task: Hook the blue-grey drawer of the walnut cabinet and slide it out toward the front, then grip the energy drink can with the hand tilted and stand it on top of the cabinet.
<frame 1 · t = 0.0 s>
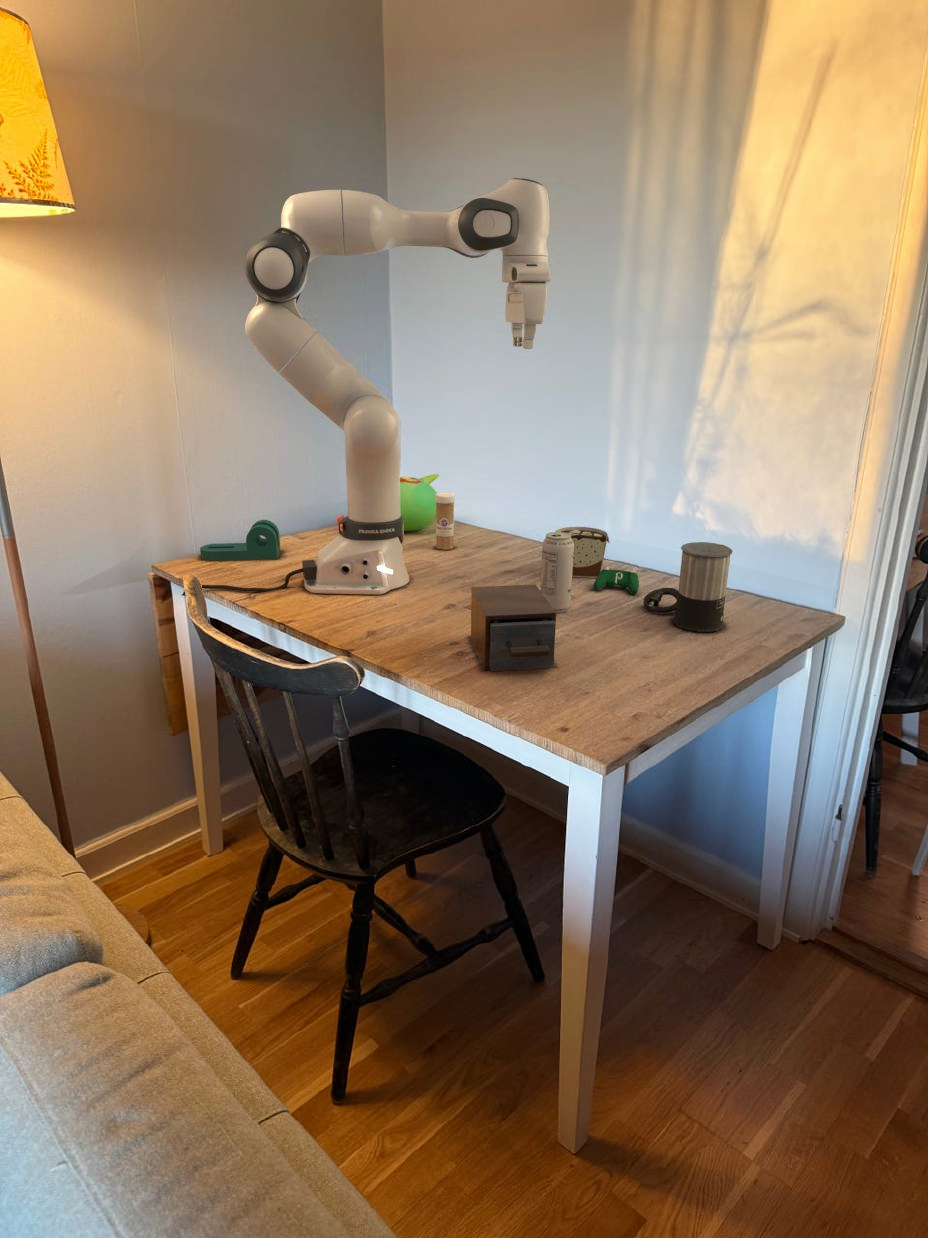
hand: (522, 347, 165), 48 cm above the table, tool pointing down, fingers open, 8 cm apart
energy drink can: (554, 609, 163), on the table
drawer: (517, 637, 136), point 5 cm above the table, slide at 1.0 cm
gaming controller: (616, 590, 174), on the table
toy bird: (406, 530, 219), on the table
milk frother: (681, 618, 159), on the table
sprinkles bottle: (445, 548, 203), on the table
bracket: (240, 556, 195), on the table
food container: (578, 573, 185), on the table
cabinet: (510, 651, 142), on the table
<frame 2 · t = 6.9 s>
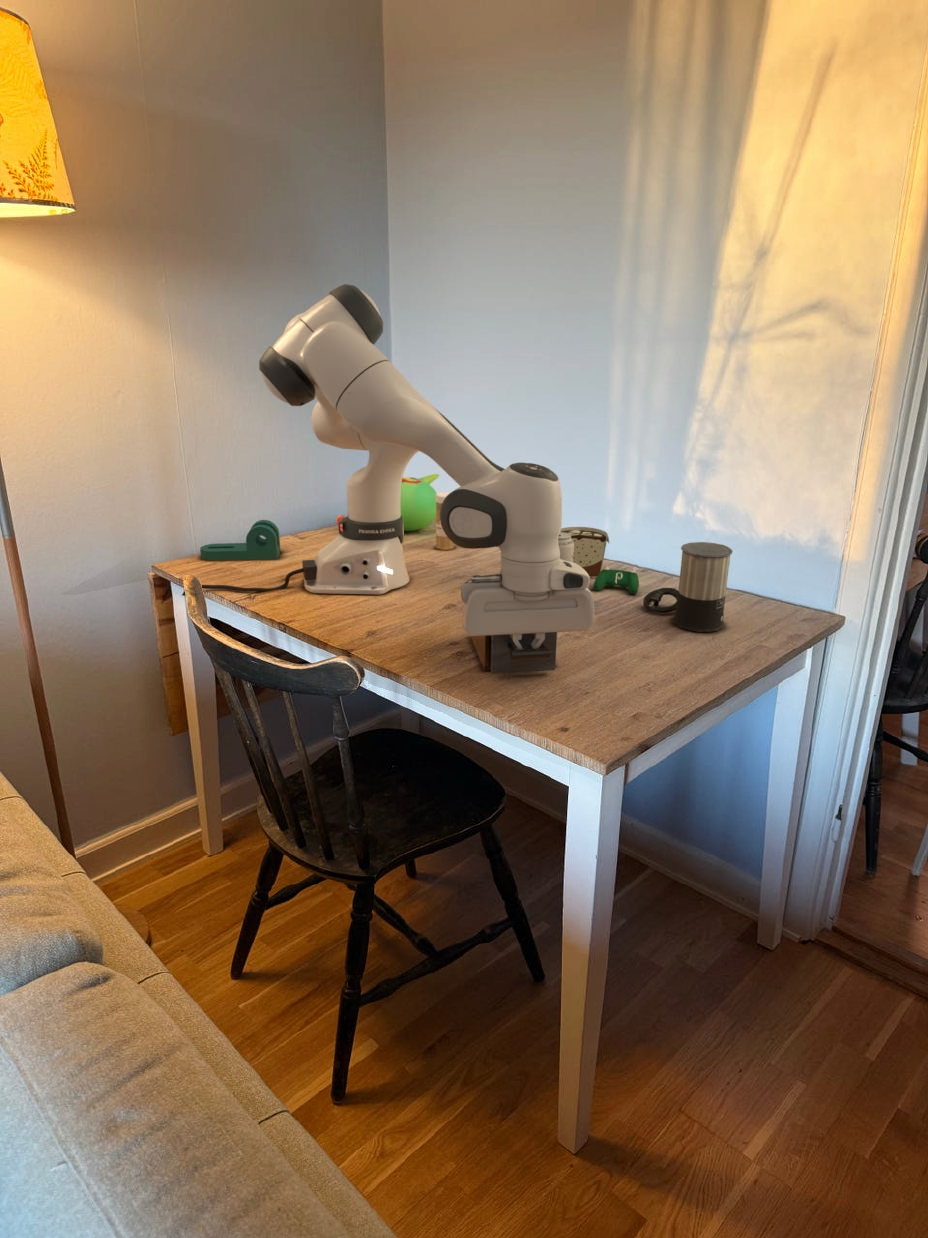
hand: (526, 657, 129), 4 cm above the table, tool pointing down, fingers closed
drawer: (518, 639, 135), point 5 cm above the table, slide at 2.0 cm, touching gripper
everything else where it was.
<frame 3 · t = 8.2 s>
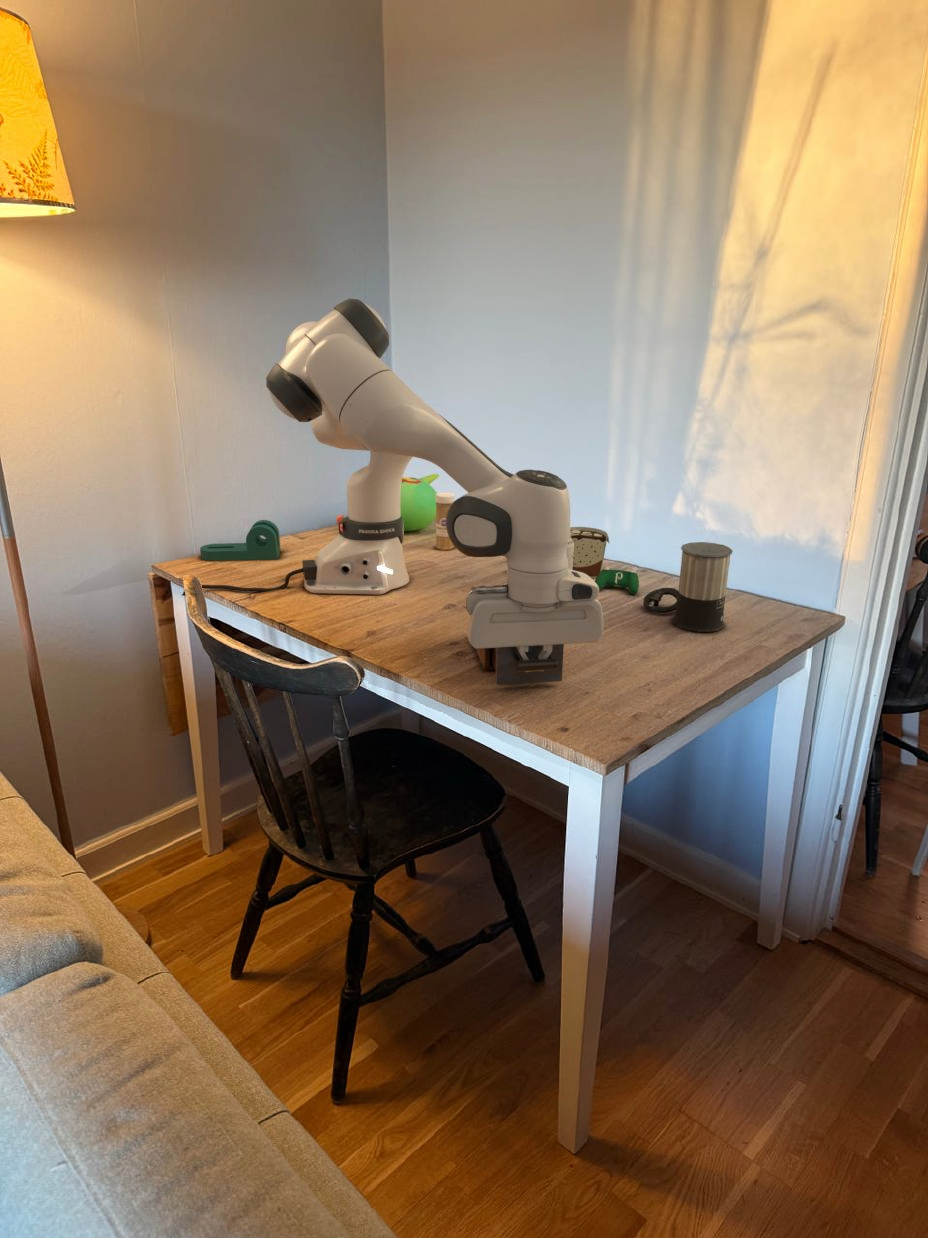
hand: (533, 670, 125), 4 cm above the table, tool pointing down, fingers closed
drawer: (524, 649, 131), point 5 cm above the table, slide at 6.2 cm
everything else where it was.
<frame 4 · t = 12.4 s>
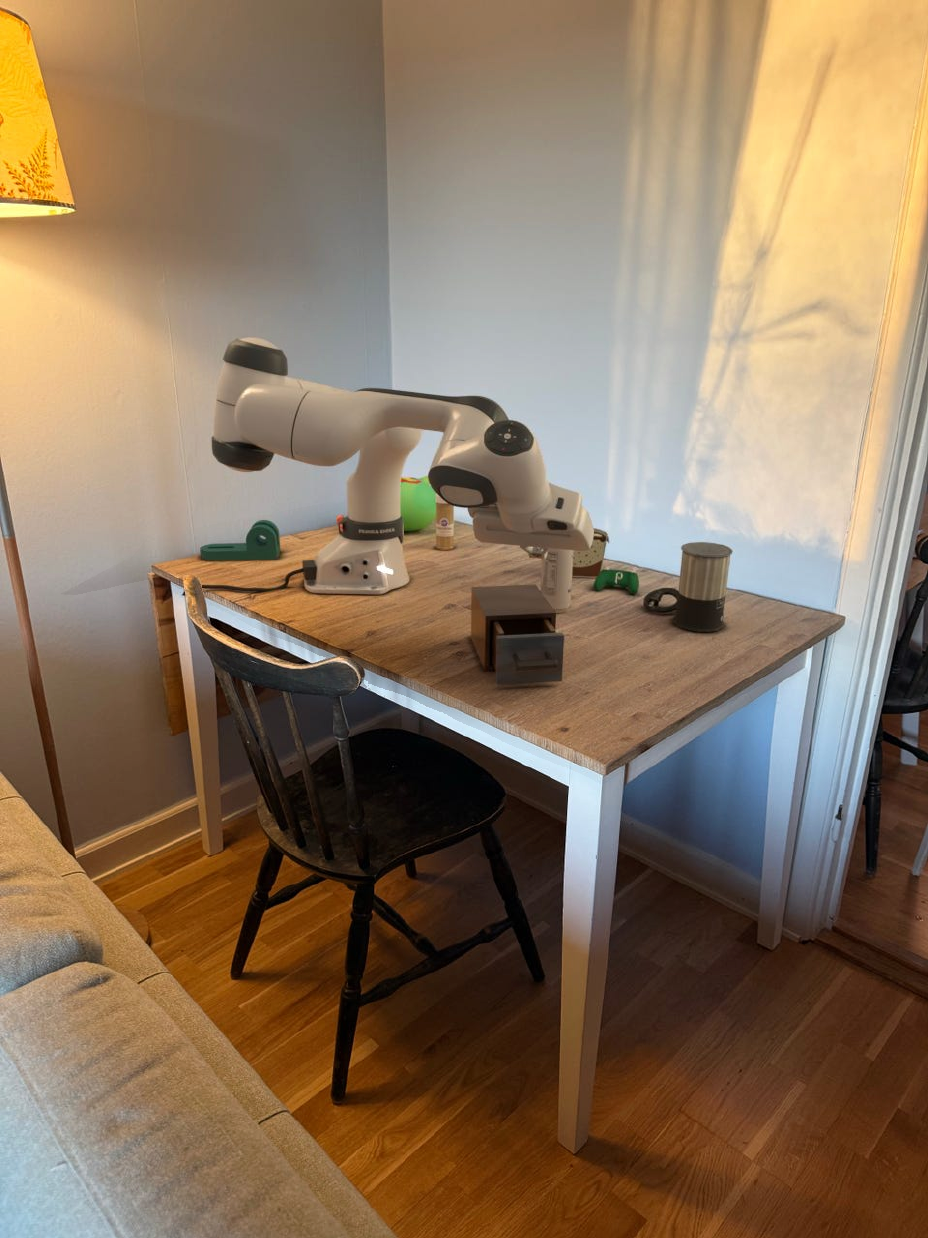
hand: (538, 555, 144), 15 cm above the table, tool tilted 40°, fingers closed
nothing on the table moved.
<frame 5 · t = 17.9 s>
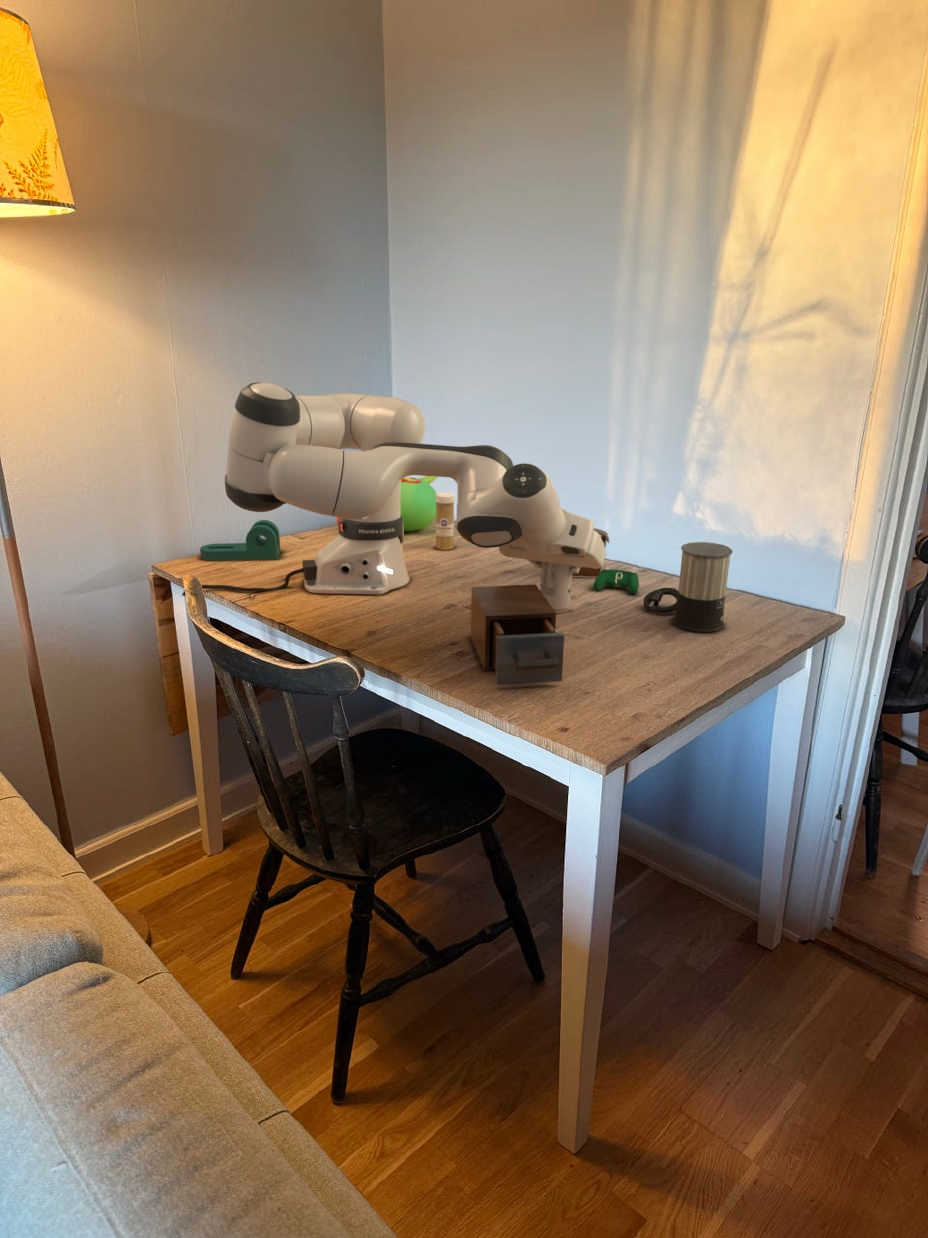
hand: (558, 567, 160), 8 cm above the table, tool tilted 45°, fingers closed on energy drink can, 6 cm apart
energy drink can: (554, 609, 163), on the table, touching gripper
everything else where it was.
when the fingers open (18 cm above the table, at t = 26.9 s): energy drink can stays where it is, resting on cabinet.
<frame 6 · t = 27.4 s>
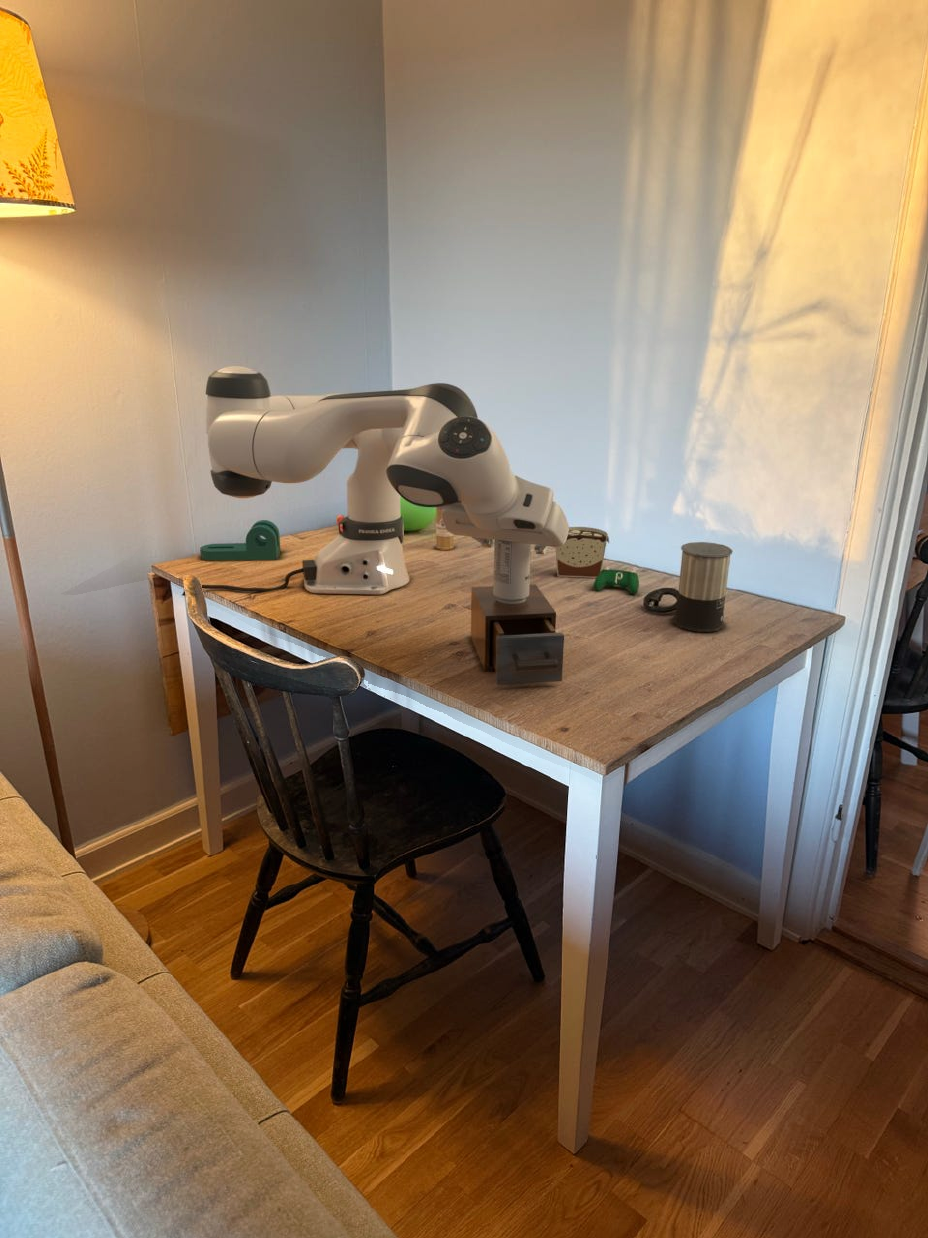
hand: (515, 547, 136), 19 cm above the table, tool tilted 45°, fingers open, 8 cm apart
energy drink can: (511, 600, 139), point 9 cm above the table, touching cabinet
everything else where it was.
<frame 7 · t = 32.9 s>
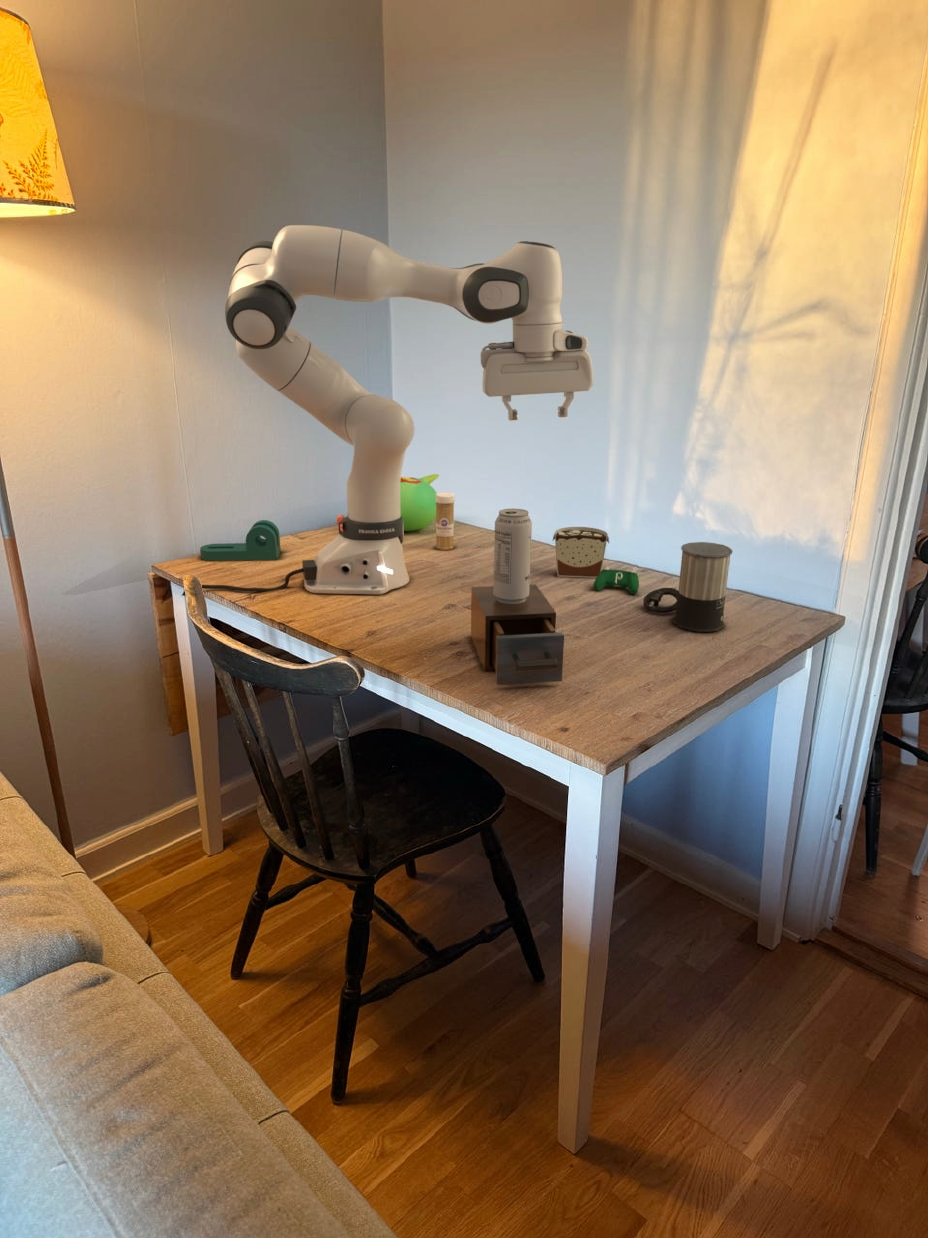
hand: (537, 418, 154), 36 cm above the table, tool pointing down, fingers open, 8 cm apart
nothing on the table moved.
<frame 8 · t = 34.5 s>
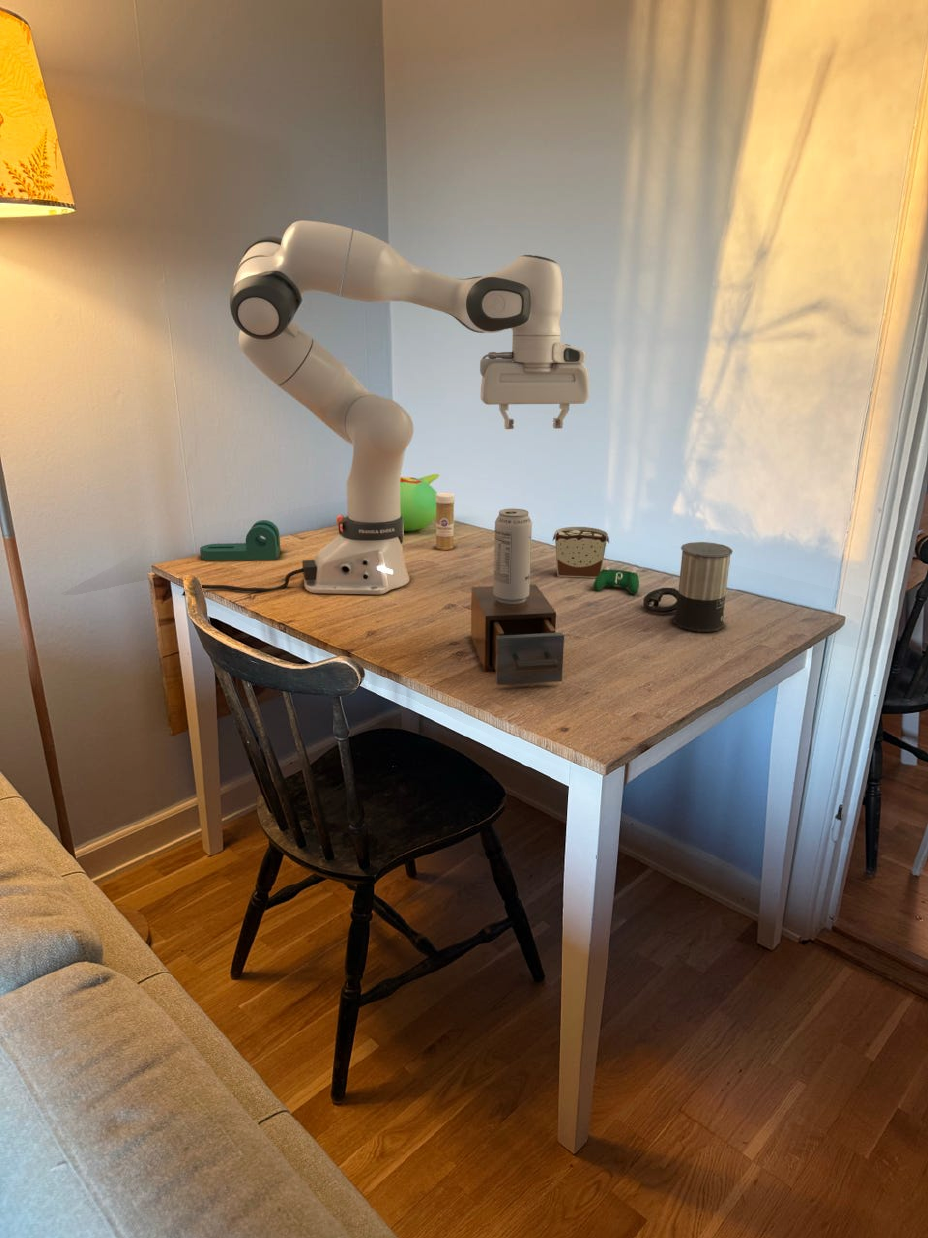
hand: (533, 428, 156), 34 cm above the table, tool pointing down, fingers open, 8 cm apart
nothing on the table moved.
at the end: drawer slide at 6.2 cm; energy drink can inside the target area on the cabinet (0.2 cm from its centre), point 9.4 cm above the cabinet's base; energy drink can tilted 0° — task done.
